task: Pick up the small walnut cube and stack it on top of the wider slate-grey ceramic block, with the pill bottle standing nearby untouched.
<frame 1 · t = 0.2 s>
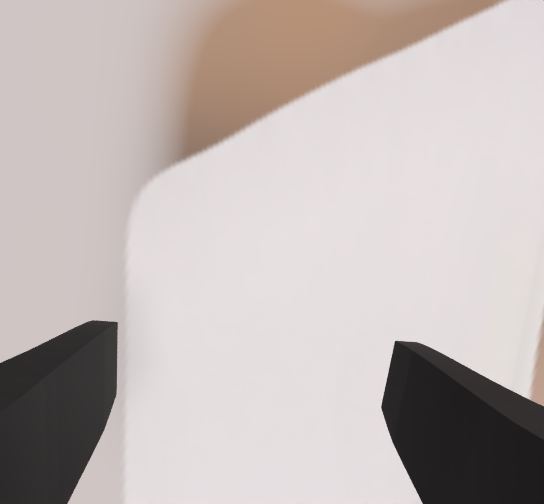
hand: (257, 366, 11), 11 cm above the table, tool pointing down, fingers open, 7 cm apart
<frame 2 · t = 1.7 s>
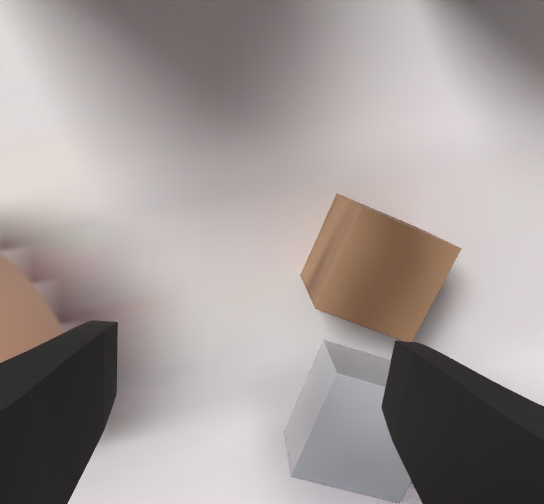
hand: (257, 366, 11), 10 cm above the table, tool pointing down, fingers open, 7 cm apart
grey block: (351, 398, 23), on the table
walnut cube: (357, 250, 21), on the table
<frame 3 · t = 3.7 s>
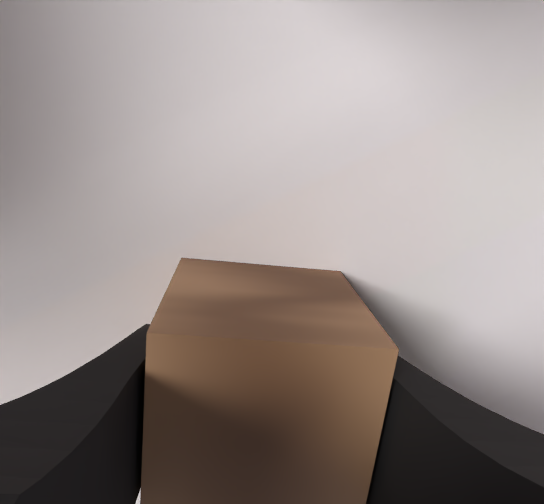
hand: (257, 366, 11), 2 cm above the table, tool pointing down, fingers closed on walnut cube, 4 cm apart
walnut cube: (254, 337, 12), on the table, touching gripper
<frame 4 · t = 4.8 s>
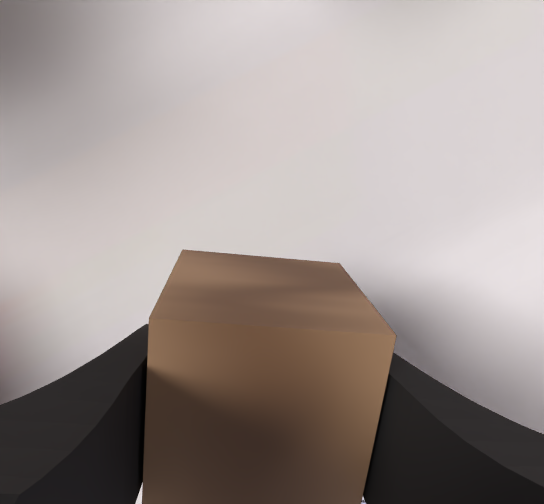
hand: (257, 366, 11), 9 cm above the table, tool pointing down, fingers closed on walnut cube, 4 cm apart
walnut cube: (254, 328, 12), point 7 cm above the table, touching gripper
when the fingers open (6 cm above the table, at t = 6.1 s): walnut cube stays where it is, resting on grey block.
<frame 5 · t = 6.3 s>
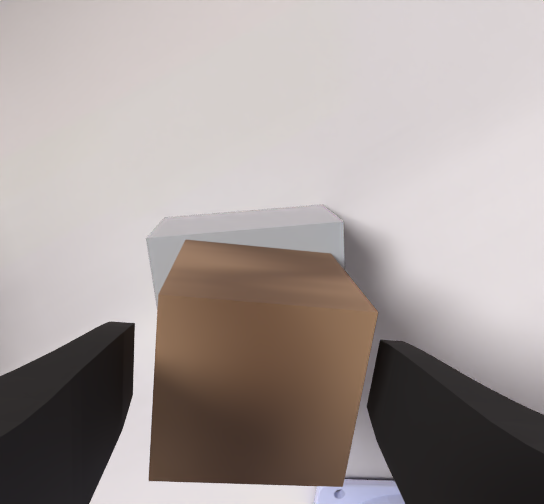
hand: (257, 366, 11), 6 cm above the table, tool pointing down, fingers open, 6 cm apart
grey block: (250, 282, 17), on the table, touching walnut cube
walnut cube: (251, 313, 13), point 3 cm above the table, touching grey block
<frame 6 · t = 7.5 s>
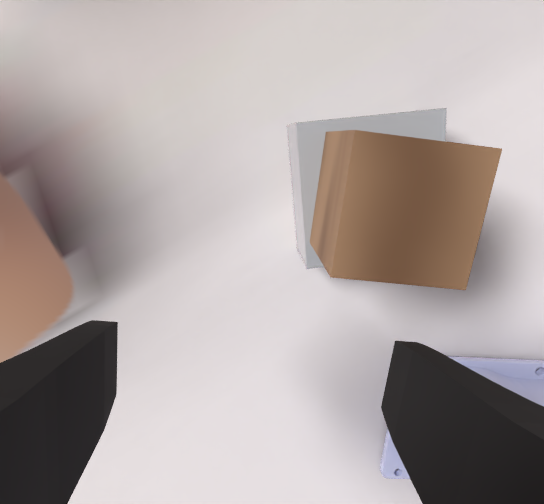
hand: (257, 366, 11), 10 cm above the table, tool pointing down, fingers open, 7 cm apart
grey block: (351, 182, 20), on the table, touching walnut cube
walnut cube: (371, 195, 17), point 3 cm above the table, touching grey block
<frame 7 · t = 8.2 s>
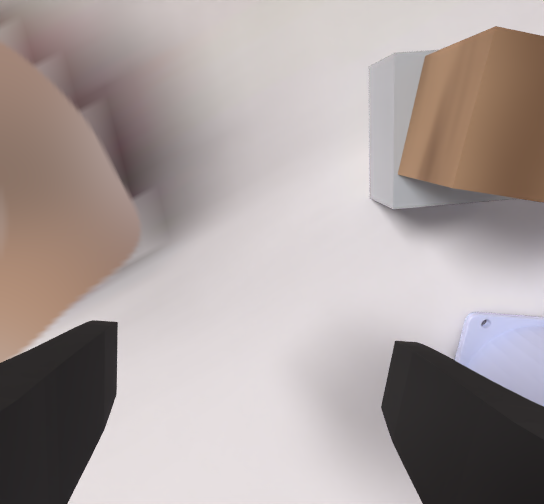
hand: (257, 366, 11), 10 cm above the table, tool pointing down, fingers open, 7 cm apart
grey block: (428, 130, 20), on the table, touching walnut cube
walnut cube: (463, 126, 17), point 3 cm above the table, touching grey block
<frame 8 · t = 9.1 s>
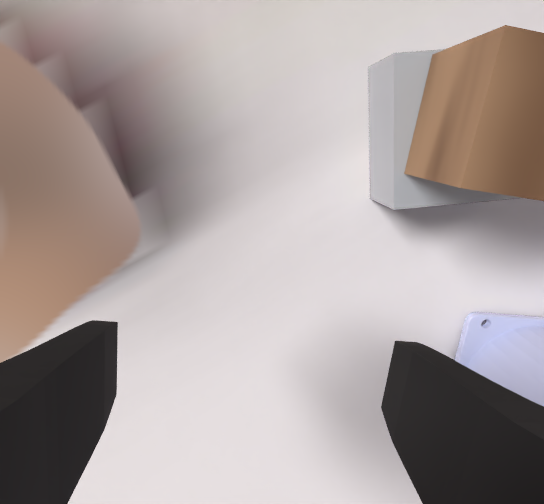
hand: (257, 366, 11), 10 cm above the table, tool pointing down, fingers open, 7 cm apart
grey block: (428, 130, 20), on the table
walnut cube: (470, 125, 16), point 3 cm above the table
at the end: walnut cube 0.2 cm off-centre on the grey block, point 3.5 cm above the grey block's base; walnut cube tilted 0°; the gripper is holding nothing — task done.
